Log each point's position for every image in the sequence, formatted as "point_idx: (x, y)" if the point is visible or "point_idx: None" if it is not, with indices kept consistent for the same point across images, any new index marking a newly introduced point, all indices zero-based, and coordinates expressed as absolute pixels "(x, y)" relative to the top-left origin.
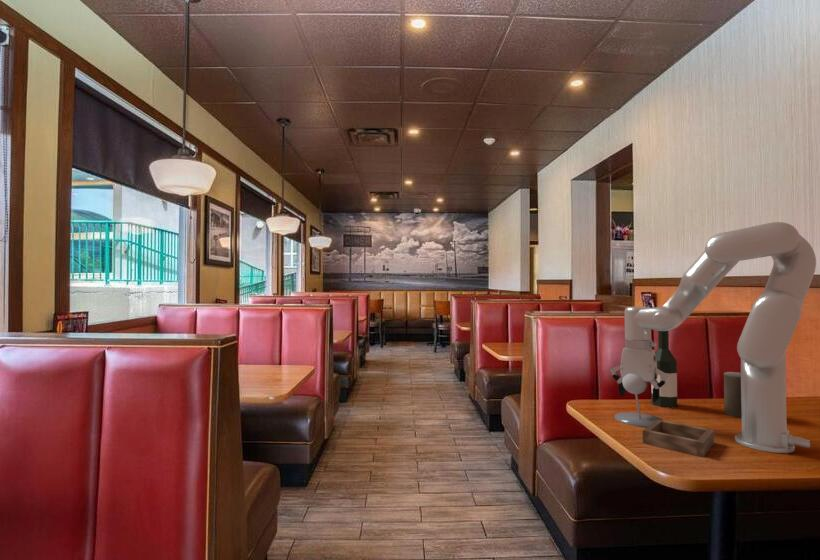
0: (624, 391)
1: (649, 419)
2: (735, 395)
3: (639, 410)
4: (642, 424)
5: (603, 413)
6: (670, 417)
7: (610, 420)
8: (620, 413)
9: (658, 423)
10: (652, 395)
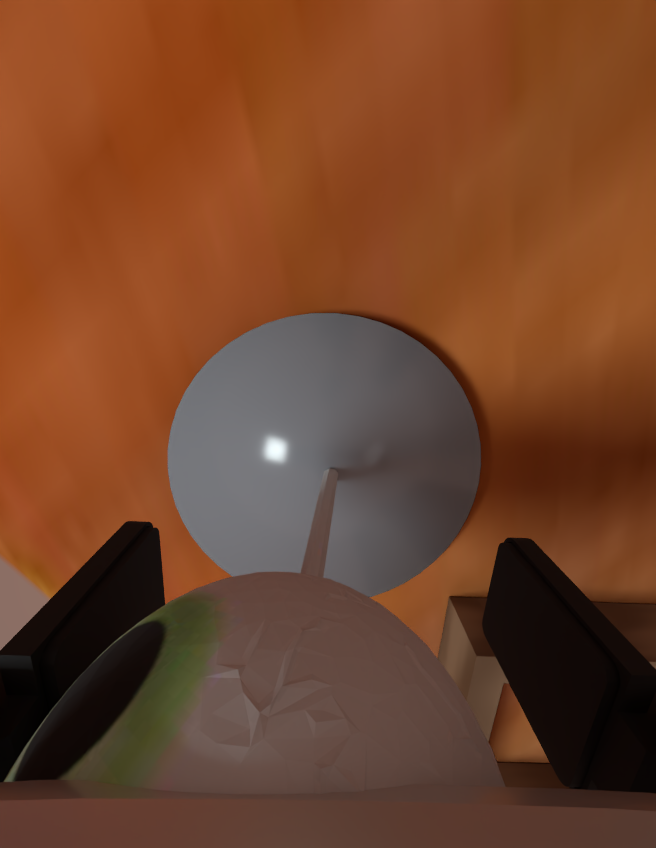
0: (139, 589)
1: (388, 452)
2: None
3: (332, 511)
4: (372, 587)
5: (76, 437)
6: (503, 200)
7: (185, 563)
8: (184, 430)
9: (490, 723)
10: None
